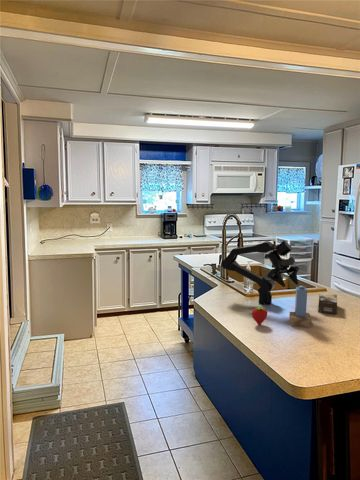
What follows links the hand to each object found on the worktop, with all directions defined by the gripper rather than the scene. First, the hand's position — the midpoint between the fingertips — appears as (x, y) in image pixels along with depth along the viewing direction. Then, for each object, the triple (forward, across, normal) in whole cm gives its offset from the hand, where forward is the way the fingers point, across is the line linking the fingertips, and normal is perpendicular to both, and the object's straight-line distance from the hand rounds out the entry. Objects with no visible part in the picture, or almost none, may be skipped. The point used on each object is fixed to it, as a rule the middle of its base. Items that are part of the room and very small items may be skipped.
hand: (291, 285), depth 190 cm
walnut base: (+20, -10, -1) cm, 23 cm away
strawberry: (+15, -28, +5) cm, 32 cm away
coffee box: (+9, +27, +6) cm, 29 cm away
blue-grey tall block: (+18, -10, -4) cm, 21 cm away
